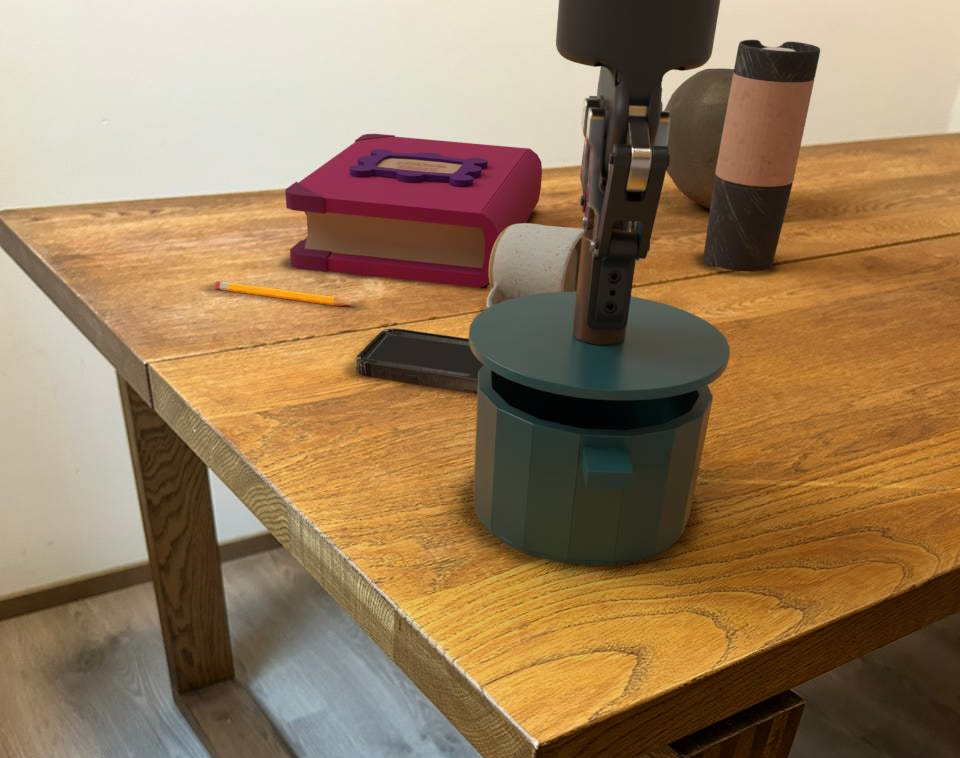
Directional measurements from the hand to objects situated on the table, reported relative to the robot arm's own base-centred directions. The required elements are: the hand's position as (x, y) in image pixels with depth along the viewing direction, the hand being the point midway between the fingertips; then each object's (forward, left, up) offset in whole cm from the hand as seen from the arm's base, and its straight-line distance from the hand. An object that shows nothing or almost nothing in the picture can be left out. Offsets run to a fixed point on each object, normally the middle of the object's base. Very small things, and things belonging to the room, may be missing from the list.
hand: (602, 314), depth 56 cm
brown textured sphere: (-22, -73, -13) cm, 77 cm away
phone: (+8, -21, -13) cm, 26 cm away
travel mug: (-21, -51, -13) cm, 57 cm away
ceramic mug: (+1, -34, -13) cm, 36 cm away
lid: (0, 0, -2) cm, 2 cm away
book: (+12, -56, -13) cm, 59 cm away
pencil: (+24, -36, -13) cm, 45 cm away
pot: (0, 0, -13) cm, 13 cm away
